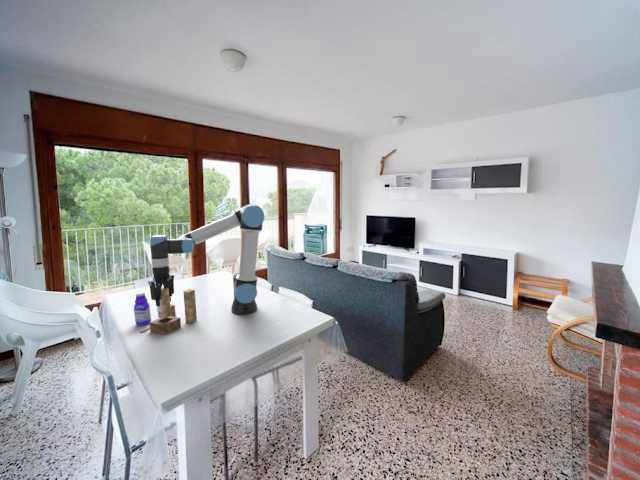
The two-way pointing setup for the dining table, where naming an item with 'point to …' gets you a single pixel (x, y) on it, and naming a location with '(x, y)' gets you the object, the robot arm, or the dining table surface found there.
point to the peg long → (190, 306)
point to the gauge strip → (145, 330)
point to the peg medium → (165, 303)
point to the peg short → (172, 310)
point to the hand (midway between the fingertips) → (164, 309)
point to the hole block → (165, 325)
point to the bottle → (142, 309)
